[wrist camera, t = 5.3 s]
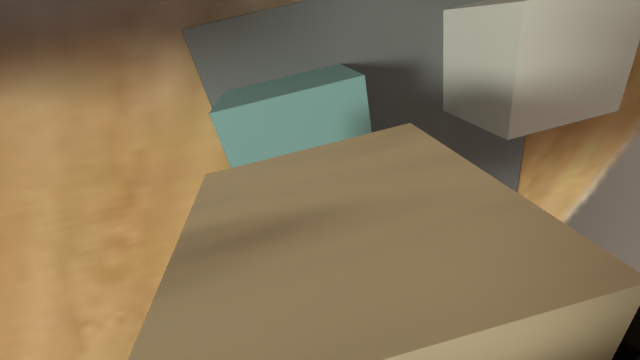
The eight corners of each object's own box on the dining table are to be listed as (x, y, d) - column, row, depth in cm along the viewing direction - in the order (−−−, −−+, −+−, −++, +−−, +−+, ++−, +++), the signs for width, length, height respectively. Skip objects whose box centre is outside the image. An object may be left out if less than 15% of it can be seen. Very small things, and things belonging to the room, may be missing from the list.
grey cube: (525, 89, 20) (618, 110, 15) (443, 110, 20) (507, 139, 14) (539, -13, 17) (661, -33, 12) (443, 10, 17) (524, 1, 12)
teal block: (356, 166, 21) (380, 203, 16) (260, 192, 20) (258, 236, 16) (339, 63, 17) (364, 75, 13) (224, 91, 17) (208, 113, 12)
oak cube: (417, 269, 11) (549, 479, 6) (266, 311, 11) (266, 569, 6) (410, 122, 8) (652, 281, 3) (206, 174, 8) (91, 444, 3)
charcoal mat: (504, 236, 27) (509, 240, 27) (287, 297, 26) (288, 302, 26) (545, -55, 17) (554, -58, 16) (184, 29, 16) (181, 29, 15)
